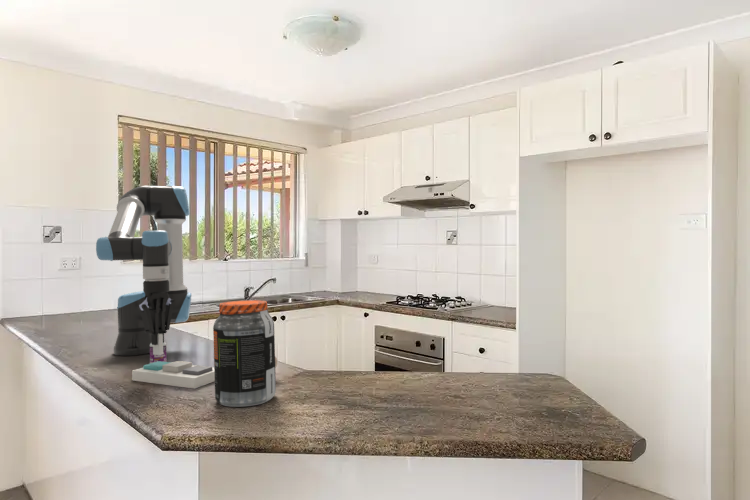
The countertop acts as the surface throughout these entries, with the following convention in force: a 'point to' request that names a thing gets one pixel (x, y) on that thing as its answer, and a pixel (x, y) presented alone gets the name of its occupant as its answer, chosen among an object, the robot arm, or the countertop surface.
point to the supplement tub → (244, 354)
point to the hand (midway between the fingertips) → (158, 354)
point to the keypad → (173, 378)
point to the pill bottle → (158, 357)
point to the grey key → (176, 366)
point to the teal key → (155, 366)
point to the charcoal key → (197, 370)
